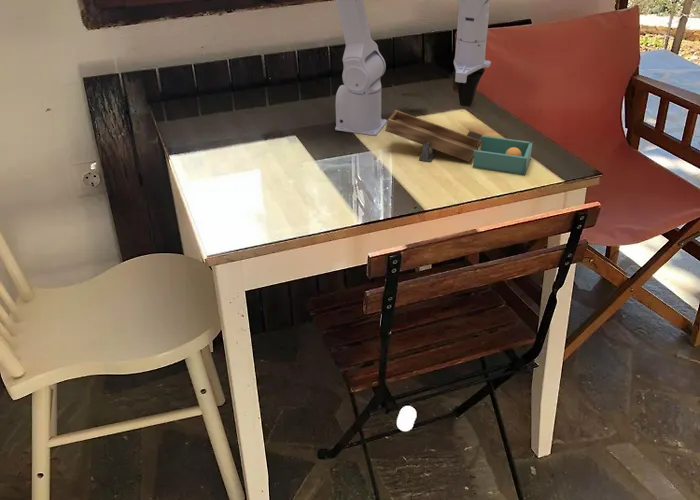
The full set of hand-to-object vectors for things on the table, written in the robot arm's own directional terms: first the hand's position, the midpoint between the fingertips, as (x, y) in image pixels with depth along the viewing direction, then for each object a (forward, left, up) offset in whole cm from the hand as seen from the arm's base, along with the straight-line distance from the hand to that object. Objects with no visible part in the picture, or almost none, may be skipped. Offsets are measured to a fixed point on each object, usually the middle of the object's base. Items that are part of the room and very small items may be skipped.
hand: (465, 104), depth 145 cm
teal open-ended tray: (+9, -7, -8) cm, 14 cm away
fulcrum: (-5, -7, -8) cm, 12 cm away
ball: (+11, -7, -6) cm, 15 cm away
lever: (-5, -4, -6) cm, 9 cm away
